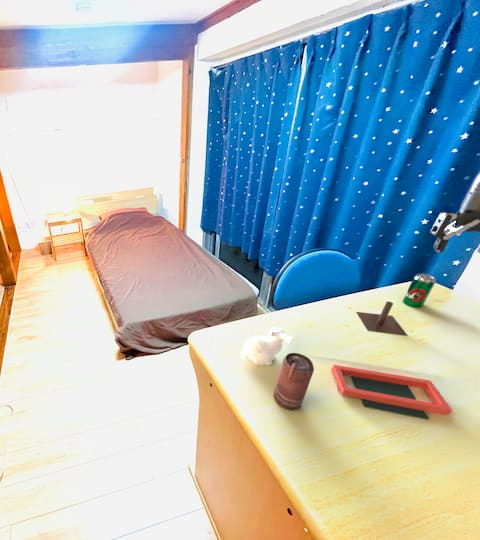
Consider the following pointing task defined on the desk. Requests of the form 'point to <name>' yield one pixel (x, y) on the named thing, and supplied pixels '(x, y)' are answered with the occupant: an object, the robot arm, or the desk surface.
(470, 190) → the robot arm
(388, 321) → the stand
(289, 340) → the rabbit
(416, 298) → the soda can
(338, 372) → the loop
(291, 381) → the can
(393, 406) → the mat
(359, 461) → the desk surface
